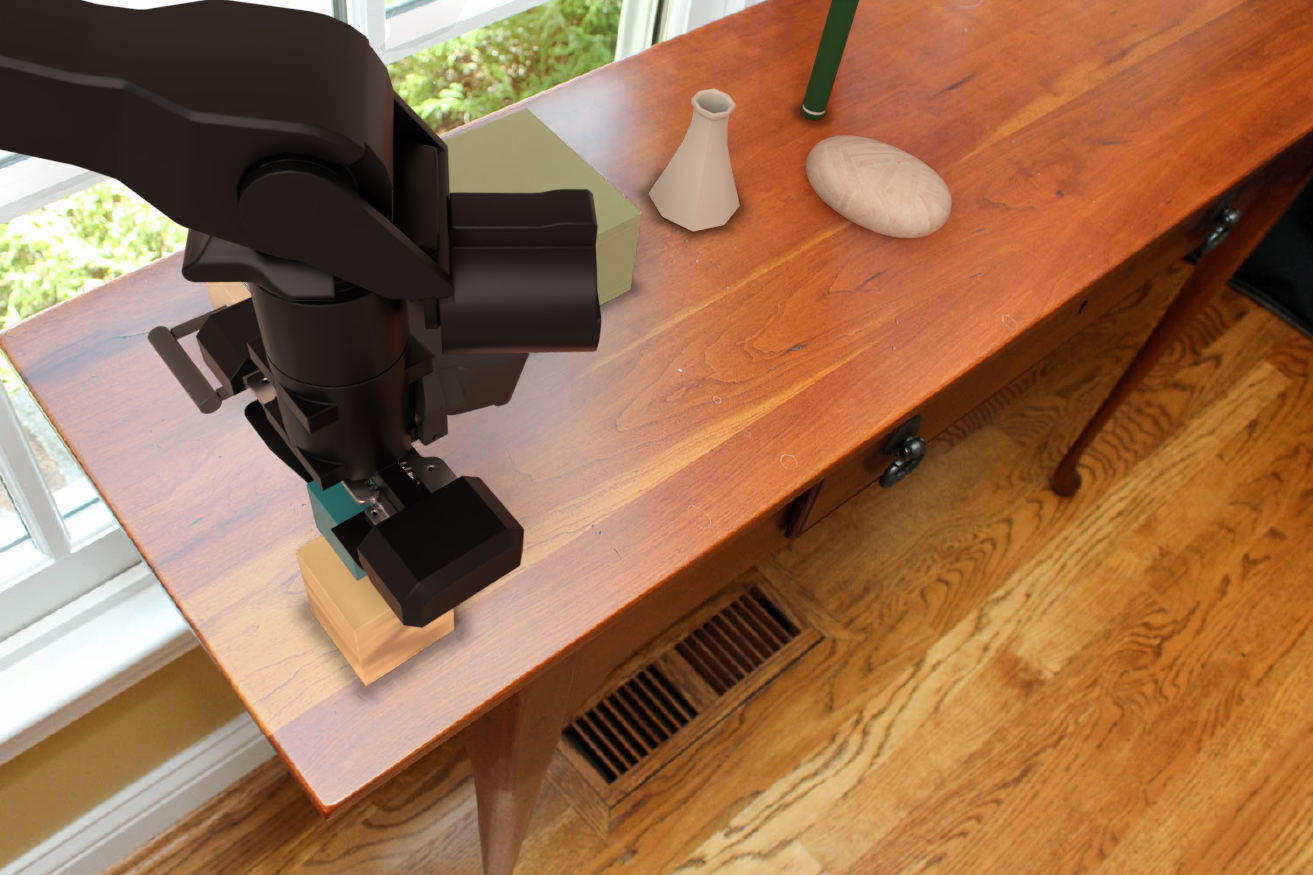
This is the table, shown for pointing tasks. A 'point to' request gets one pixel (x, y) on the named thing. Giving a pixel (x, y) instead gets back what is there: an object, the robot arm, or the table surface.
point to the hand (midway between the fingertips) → (370, 534)
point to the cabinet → (547, 185)
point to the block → (335, 517)
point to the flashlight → (828, 57)
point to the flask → (700, 169)
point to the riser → (361, 615)
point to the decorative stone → (878, 186)
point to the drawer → (180, 360)
